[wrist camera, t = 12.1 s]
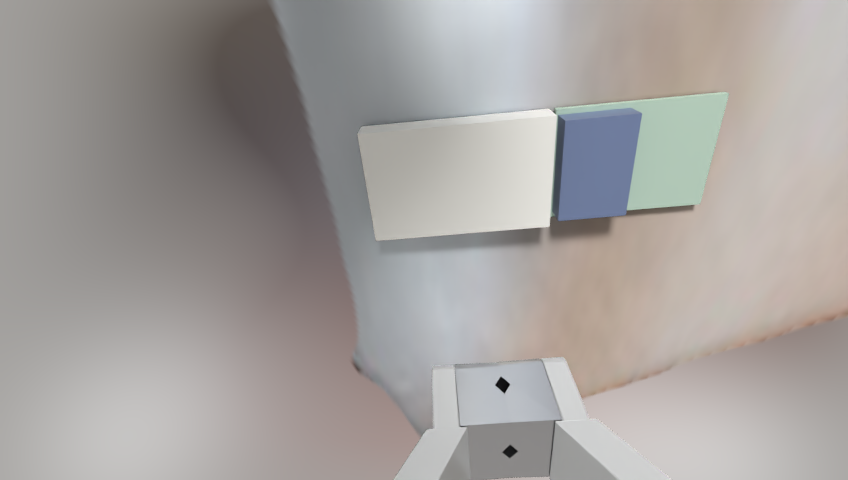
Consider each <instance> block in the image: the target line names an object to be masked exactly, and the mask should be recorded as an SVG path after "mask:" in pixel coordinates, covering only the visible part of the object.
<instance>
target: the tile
mask: <svg viewBox="0 0 848 480" xmlns="http://www.w3.org/2000/svg"><path fill="white" fill-rule="evenodd" d="M641 118H642V113H641V112H639V111H637V110H635V109H633V108H623V109H613V110H603V111H593V112H583V113H572V114H562V115H558V127H557V143H556V159H555V175H554V191H553V206H552V212H553V214H554V215H555V217H556V218H557V220H558V221H565V220H576V219H588V218H599V217H611V216H622V215H626V211H627V205H628V198H629V192H630V186H631V180H632V174H633V168H634V161H635V155H636V149H637V143H638V137H639V131H640V124H641Z"/></svg>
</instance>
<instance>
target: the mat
mask: <svg viewBox="0 0 848 480" xmlns="http://www.w3.org/2000/svg"><path fill="white" fill-rule="evenodd" d="M728 96H729V93H726V92H719V93H708V94H698V95H687V96H677V97H666V98H656V99H645V100H634V101H624V102H613V103H603V104H592V105H582V106H571V107H561V108H554V114H556V115H557V122H556V138H555V153H554V168H553V183H552V198H551V213H550V217H554V216H555V215H554V214H553V212H552V206H553V191H554V175H555V159H556V143H557V127H558V115H562V114H572V113H583V112H593V111H603V110H613V109H623V108H633V109H635V110H637V111H639V112H641V113H642V118H641V124H640V131H639V137H638V143H637V149H636V155H635V161H634V168H633V174H632V180H631V186H630V192H629V198H628V205H627V210H637V209H649V208H660V207H672V206H684V205H696V204H700V202H701V199H702V195H703V191H704V187H705V183H706V180H707V176H708V172H709V168H710V164H711V161H712V157H713V153H714V149H715V145H716V141H717V138H718V134H719V130H720V126H721V122H722V119H723V115H724V111H725V107H726V103H727V99H728Z"/></svg>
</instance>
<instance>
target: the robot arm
mask: <svg viewBox="0 0 848 480" xmlns="http://www.w3.org/2000/svg"><path fill="white" fill-rule="evenodd" d="M432 408H433V429H426V431H425V432H424V434H423V435H422V437H421V438H420V440H419V441H418V443H417V444H416V446H415V447H414V449H413V450H412V452H411V454H410V455H409V457H408V458H407V460H406V461H405V463H404V464H403V466H402V467H401V469H400V470H399V472H398V473H397V475H396V477H395V478H394V479H393V480H487V479H498V478H509V477H510V478H513V477H545V476H546V477H548V476H550V480H672V479H671V478H670V477H668V476H667V475H666V474H665V473H663V472H662V471H661V470H660V469H659V468H657V467H656V466H655V465H654V464H652V463H651V462H650V461H649V460H648V459H646V458H645V457H644V456H642V455H641V454H640V453H639V452H638V451H636V450H635V449H634V448H633V447H631V446H630V445H629V444H628V443H627V442H625V441H624V440H623V439H622V438H620V437H619V436H618V435H617V434H615V433H614V432H613V431H612V430H611V429H609V428H608V427H607V426H605V425H604V424H603V423H602V422H601V421H599V420H598V419H590V418H589V415H588V413H587V410H586V408H585V406H584V403H583V401H582V398H581V396H580V393H579V391H578V388H577V386H576V384H575V381H574V379H573V376H572V374H571V371H570V369H569V367H568V364H567V362H566V360H565V359H564V358H563V357H556V358H543V359H528V360H516V361H503V362H497V363H474V364H455V369H454V365H437V366H432Z"/></svg>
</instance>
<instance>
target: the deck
mask: <svg viewBox="0 0 848 480" xmlns="http://www.w3.org/2000/svg"><path fill="white" fill-rule="evenodd" d="M556 122H557V115H556V114H554V113H553V112H552V111H551V110H550V109H539V110H529V111H518V112H508V113H497V114H487V115H476V116H466V117H455V118H445V119H434V120H423V121H413V122H402V123H392V124H381V125H371V126H361V128H360V130H359V132H358V134H357V136H358V141H359V147H360V153H361V159H362V164H363V170H364V176H365V182H366V188H367V193H368V199H369V205H370V211H371V216H372V222H373V228H374V234H375V239H376V241H383V240H395V239H407V238H419V237H431V236H443V235H455V234H467V233H479V232H491V231H503V230H515V229H527V228H539V227H550V213H551V198H552V183H553V168H554V153H555V138H556Z"/></svg>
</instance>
